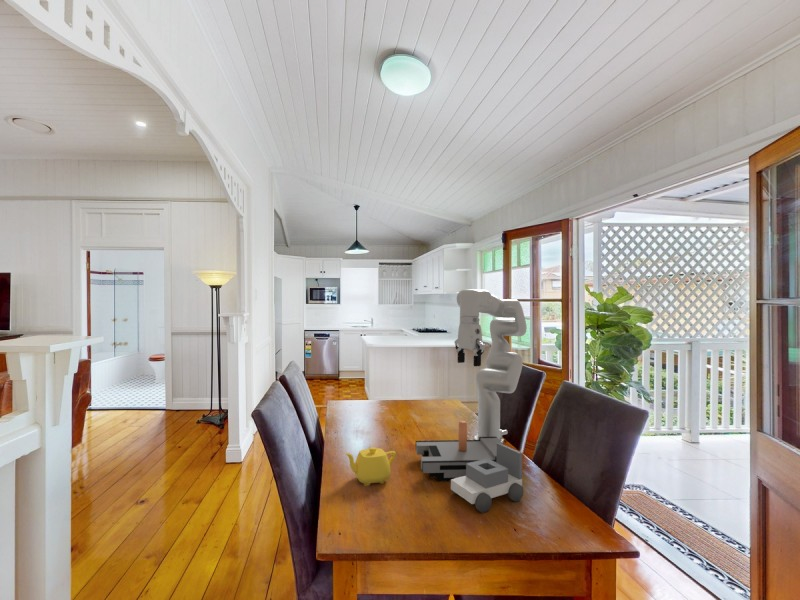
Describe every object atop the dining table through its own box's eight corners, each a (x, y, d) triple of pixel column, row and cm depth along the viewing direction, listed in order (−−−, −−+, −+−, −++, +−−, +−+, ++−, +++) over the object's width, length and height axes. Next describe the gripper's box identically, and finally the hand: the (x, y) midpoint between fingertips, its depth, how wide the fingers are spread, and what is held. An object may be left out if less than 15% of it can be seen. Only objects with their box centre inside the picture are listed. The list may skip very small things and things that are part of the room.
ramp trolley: (495, 481, 127) (496, 441, 128) (525, 498, 116) (526, 454, 116) (447, 495, 118) (448, 451, 118) (475, 515, 106) (476, 467, 106)
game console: (415, 458, 146) (415, 437, 146) (495, 457, 149) (496, 436, 149) (422, 484, 126) (423, 459, 126) (516, 482, 128) (516, 457, 128)
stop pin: (463, 447, 139) (463, 420, 140) (468, 450, 137) (468, 422, 137) (456, 449, 138) (457, 421, 138) (461, 451, 135) (462, 423, 135)
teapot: (347, 492, 119) (348, 457, 119) (340, 477, 129) (341, 445, 129) (401, 483, 125) (401, 451, 125) (390, 469, 135) (390, 439, 135)
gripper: (492, 321, 143) (491, 366, 143) (462, 319, 158) (462, 360, 158) (476, 321, 139) (476, 368, 139) (448, 319, 154) (447, 361, 154)
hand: (468, 364), depth 148 cm, fingers open, 9 cm apart
